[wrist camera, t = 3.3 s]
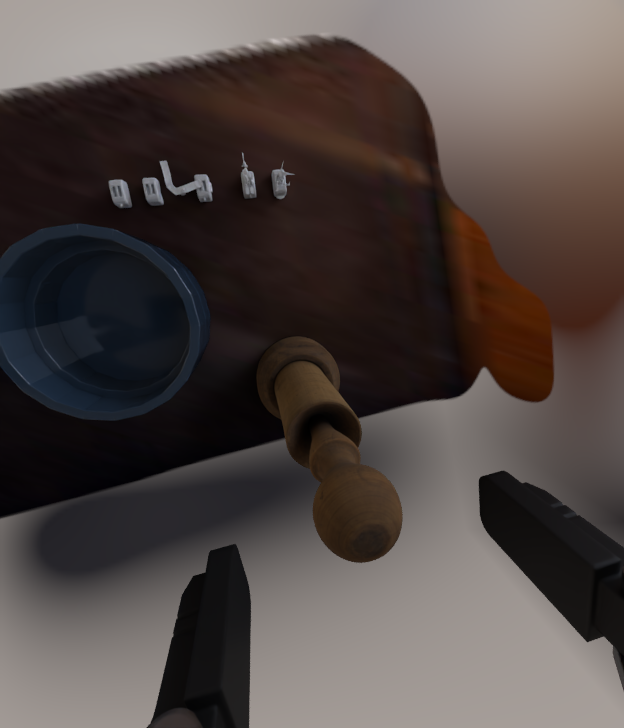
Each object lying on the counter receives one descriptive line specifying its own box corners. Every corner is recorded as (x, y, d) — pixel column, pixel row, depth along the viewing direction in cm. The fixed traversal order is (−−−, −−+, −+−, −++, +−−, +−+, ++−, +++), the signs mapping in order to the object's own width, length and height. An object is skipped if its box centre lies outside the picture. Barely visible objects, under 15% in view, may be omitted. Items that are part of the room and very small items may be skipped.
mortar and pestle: (339, 402, 28) (471, 592, 11) (266, 420, 27) (287, 652, 10) (326, 328, 26) (462, 419, 9) (248, 345, 26) (237, 477, 8)
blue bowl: (80, 405, 25) (33, 439, 19) (17, 252, 21) (-60, 243, 16) (227, 373, 26) (220, 397, 21) (187, 225, 23) (168, 208, 18)
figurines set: (120, 212, 22) (101, 202, 19) (109, 165, 21) (87, 148, 18) (295, 199, 24) (300, 188, 21) (290, 155, 23) (294, 138, 20)
